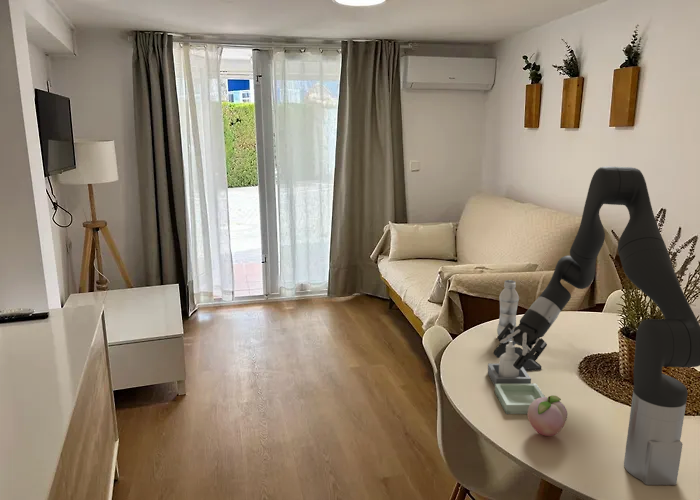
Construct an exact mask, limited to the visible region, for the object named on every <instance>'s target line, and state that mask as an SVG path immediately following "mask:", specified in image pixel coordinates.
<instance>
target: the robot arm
mask: <svg viewBox="0 0 700 500" xmlns="http://www.w3.org/2000/svg"><path fill="white" fill-rule="evenodd" d="M603 205H609V206H610V205H611V206H612V205H613V206H617V205H618V206H625V207H626V209H627V210H628V214H629V215H628V216H629V220H628V222H627V224H626V226H625V227H624V230H623V232H622V233H621V235H620V237H619V239H618V242H617V253H618V256H619V260H620V263H621V266H622V269H623V272H624V274H625V275H626V277H627V278H628V279H629V281H630V282H631V283H632V284H634V286H636V288H637V289H639V290H640V291H641V292H642V293H643V294H645V296H647V297H648V298H649V299H650V300H651V301H653V303H654V304H655V305H656V306H657V307H658V309H659V310H660V311H661V312H662V313H661V314H662V315H663V317H664V318H647V319H644V320H642V321H641V322H639V323H640V324H639V325H638V327H637V329H636V335H635V344H634V345H635V347H634V348H635V350H634V361H633V391H632V396H631V397H632V399H631V405H630V413H629V420H628V421H629V422H628V428H627V436H626V443H625V453H624V460H623V466H624V468H625V470H626V471H627V472H628V473H629V474H630V475H631V476H632V477H634V478H636V479H638V480H640V481H641V482H643V484H644V485H647V486H652V485H653V486H657V485H658V486H660V485H661V486H666V485H667V486H668V485H669V486H676V485H677V481H678V475H679V470H680V464H681V463H680V462H681V457H682V452H683V442H682V441H681V439H682V438H681V437H682V432H683V424H684V420H685V412H686V407H687V399H688V394H689V393H688V389H687V386H686V385H685V384H684V383H683V382H681V381H680V380H679V379H676V378H675V377H673V376H670V375H667V374H665V373H662V372H663V368H664V367H666V368H697V367H700V323H699V321H698V319H697V317H696V315H695V313H694V311H693V310H692V309H693V308H691V307H692V306H691V305H690V304H689V301H688V300H687V298H686V296H685V293H684V291H683V289H682V287H681V284H680V282H679V279H678V277H677V274H676V271H675V269H674V266H673V263H672V260H671V256H670V254H669V251H668V248H667V246H666V243H665V241H664V239H663V236H662V234H661V231H660V229H659V226H658V223H657V220H656V216H655V213H654V211H653V208H652V203H651V198H650V195H649V191H648V186H647V182H646V179H645V176H644V174H643V173H642V171H641V170H640V169H638V168H636V167H632V166H611V165H609V166H601V167H598V169H596V170H595V171H594V173H593V174H592V177H591V180H590V183H589V186H588V190H587V194H586V198H585V203H584V207H583V211H582V215H581V221H580V224H579V227H578V231H577V232H576V235H575V237H574V240H573V242H572V244H571V247H570V248H569V249H570V250H569V255H564V256H562V257H560V258H559V260H558V261H557V263H556V265H555V268H554V270H553V274H552V276H551V279H550V280H549V282H548V284H547V286H546V287H545V288H544V289H543V291H542V292H541V294H540V295H539V296H538V297H537V298H536V299H535V301H533V302H532V304H531V305H530V307H529V308H528V309H527V310H526V312H525V313H524V314H523V316H521V318H520V320H519V324H518V325H516V327H514V326H513V325H512V324H511V323H508V325H507V326H506V327H505V328H504V330H503V331H502V332H501V333H500V335H499V336H498V335H497V337H496V338H497V339H498V341H499V344H498V346H496V348H495V349H494V350H493V355H494V356H495V357H496V358H497V359H500V356H501V355H502V354H503V352H504V351H505V350H506V345H507V344H509V342H510V341H512V343H513V345H514V346H515V345H518V346H521V348H522V349H523V352H522V355H520V356H519V358H518V359H517V360H516V361H515V363H514V364H513V366H514V367H515V368H516V369H518V370H519V369H521V368H522V367H523V365H524V364H525V363H526V362H527V360H530V359H531V360H533V361H536V362H537V360H538V358H539V357H540V356H541V354H542V353H543V351H544V350H545V349H546V348H547V346H548V343H547V342H546V340H544V339H543V337H544V336H545V334H546V333H547V332H548V331H549V329H550V328H551V327H552V325H553V324H554V323H555V322H556V320H557V318H558V317H559V315H560V313H561V312H562V311H563V309H564V308H565V307H566V305H567V304H568V303H569V301H570V300H571V298H572V297H571V296H572V295H571V292H570V291H569V289H568V288H566V287H565V286H564V285H563V284H562V283H561V282H562V281H564V282H566V283H567V284H569V285H571V286H572V287H574V288H576V289H579V290H584V289H587V288H588V287H590V285H591V284H592V283H593V281H594V279H595V276H596V275H595V274H596V265H597V264H596V263H597V258H598V256H599V253H600V252H601V249H602V248H603V245H604V244H605V243H604V242H605V239H606V238H605V237H606V232H605V229H604V225H603V223H602V220H601V216H600V212H601V208H602V207H603ZM504 335H505V336H504ZM503 336H504V337H503ZM512 338H513V339H512Z"/></svg>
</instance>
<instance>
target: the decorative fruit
mask: <svg viewBox="0 0 700 500" xmlns="http://www.w3.org/2000/svg"><path fill="white" fill-rule="evenodd" d="M561 400H562V399H561V397H560V396H558V395H548V396H547V397H546V396H545V397H541V398H538V399H536V400H534V401H533V402H532V403H531V404H530V406H529V408H528V414H527V419H528V421H529V423H530V426H532V428H533V429H534V430H535V431H536V432H537V433H538V434H540V435H541V436H546V437H551V436H552V437H553V436H555V435H557V434H558V433H559V432H561V430H562V429H563V427H564V426H565V424H566V422H567V419H568V411H567V407H566V405H564V404H563V403H562V402H561Z"/></svg>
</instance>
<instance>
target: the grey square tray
mask: <svg viewBox="0 0 700 500" xmlns="http://www.w3.org/2000/svg"><path fill="white" fill-rule="evenodd" d="M487 374H488V376H489V378H490V380H491V382H492V384H493V386H494V387H495V384H532V383H531V382H532V378H531V376H530V375H529V374H528V371H525V369H524V368H523V367H522V368H521V369H519V377H499V376H498V375H499V363H488V364H487Z"/></svg>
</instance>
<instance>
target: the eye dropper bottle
mask: <svg viewBox="0 0 700 500" xmlns="http://www.w3.org/2000/svg"><path fill="white" fill-rule="evenodd" d="M508 342H509V341H508ZM515 347H516V346H515V345H513V343H512V341H510V342H509V344H507V345H506V353H504V354H502V355H501V356H500V358H499V362H498V364H499V375H498V376H499V377H519V370H518V369H516V368H515V367H514V366H513V364H514V363H515V361H516V360H517V359H518V358H519V355H518V354H517V353H515Z"/></svg>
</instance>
